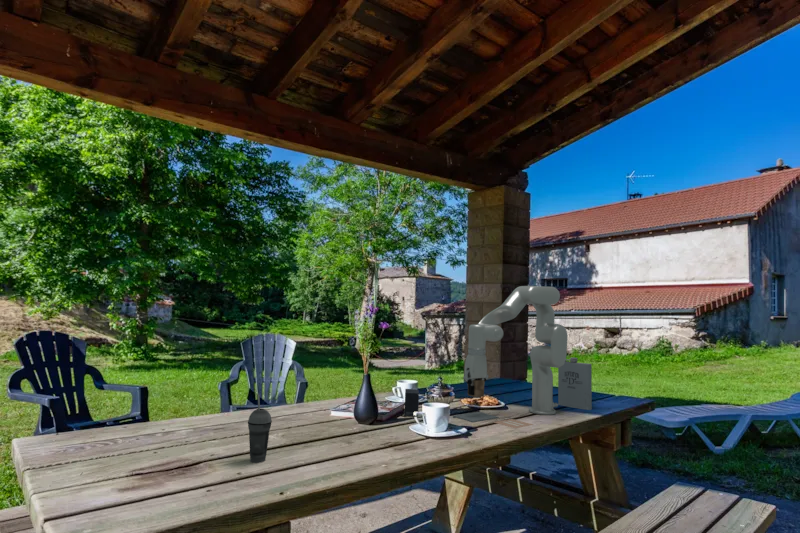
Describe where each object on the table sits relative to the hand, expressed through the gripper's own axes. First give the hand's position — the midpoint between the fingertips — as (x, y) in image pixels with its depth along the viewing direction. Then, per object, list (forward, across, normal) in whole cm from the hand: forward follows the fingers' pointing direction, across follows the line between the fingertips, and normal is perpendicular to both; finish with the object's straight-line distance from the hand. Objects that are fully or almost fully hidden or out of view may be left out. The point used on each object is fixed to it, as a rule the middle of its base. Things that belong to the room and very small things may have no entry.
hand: (475, 393), depth 214 cm
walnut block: (+1, 0, 0) cm, 1 cm away
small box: (+12, +18, -23) cm, 31 cm away
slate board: (+11, 0, 0) cm, 11 cm away
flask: (+11, -66, +5) cm, 67 cm away
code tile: (+11, -6, +16) cm, 21 cm away
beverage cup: (+13, +100, +5) cm, 101 cm away
